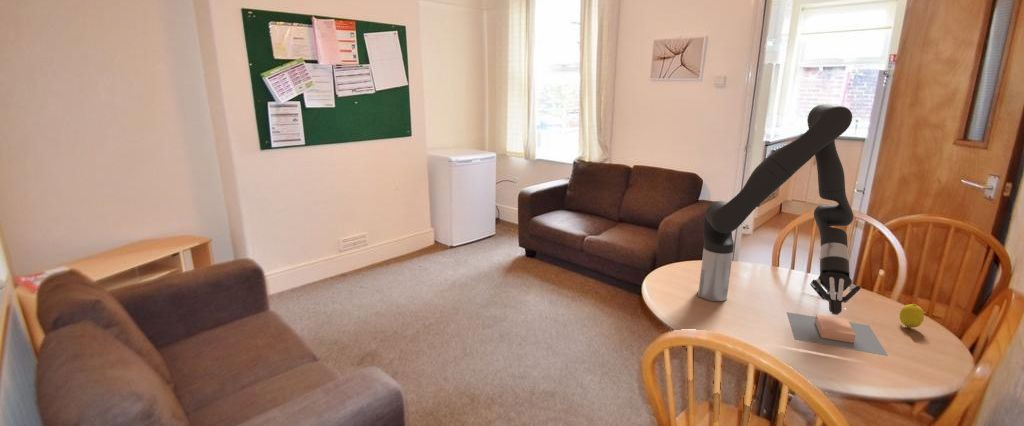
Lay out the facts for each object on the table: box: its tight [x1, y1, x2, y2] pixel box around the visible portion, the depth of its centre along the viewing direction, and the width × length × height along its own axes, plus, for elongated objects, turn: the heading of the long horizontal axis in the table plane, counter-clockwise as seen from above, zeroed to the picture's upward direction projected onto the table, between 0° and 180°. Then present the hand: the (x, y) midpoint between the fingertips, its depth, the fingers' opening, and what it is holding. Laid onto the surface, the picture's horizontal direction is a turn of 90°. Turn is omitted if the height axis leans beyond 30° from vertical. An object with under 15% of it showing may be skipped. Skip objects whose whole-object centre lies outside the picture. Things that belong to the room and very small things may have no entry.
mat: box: [786, 311, 889, 357], centre depth 140 cm, size 22×18×1 cm
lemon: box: [899, 303, 925, 329], centre depth 142 cm, size 6×6×8 cm
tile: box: [814, 313, 856, 343], centre depth 139 cm, size 8×3×10 cm
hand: (835, 313), depth 139 cm, fingers closed
